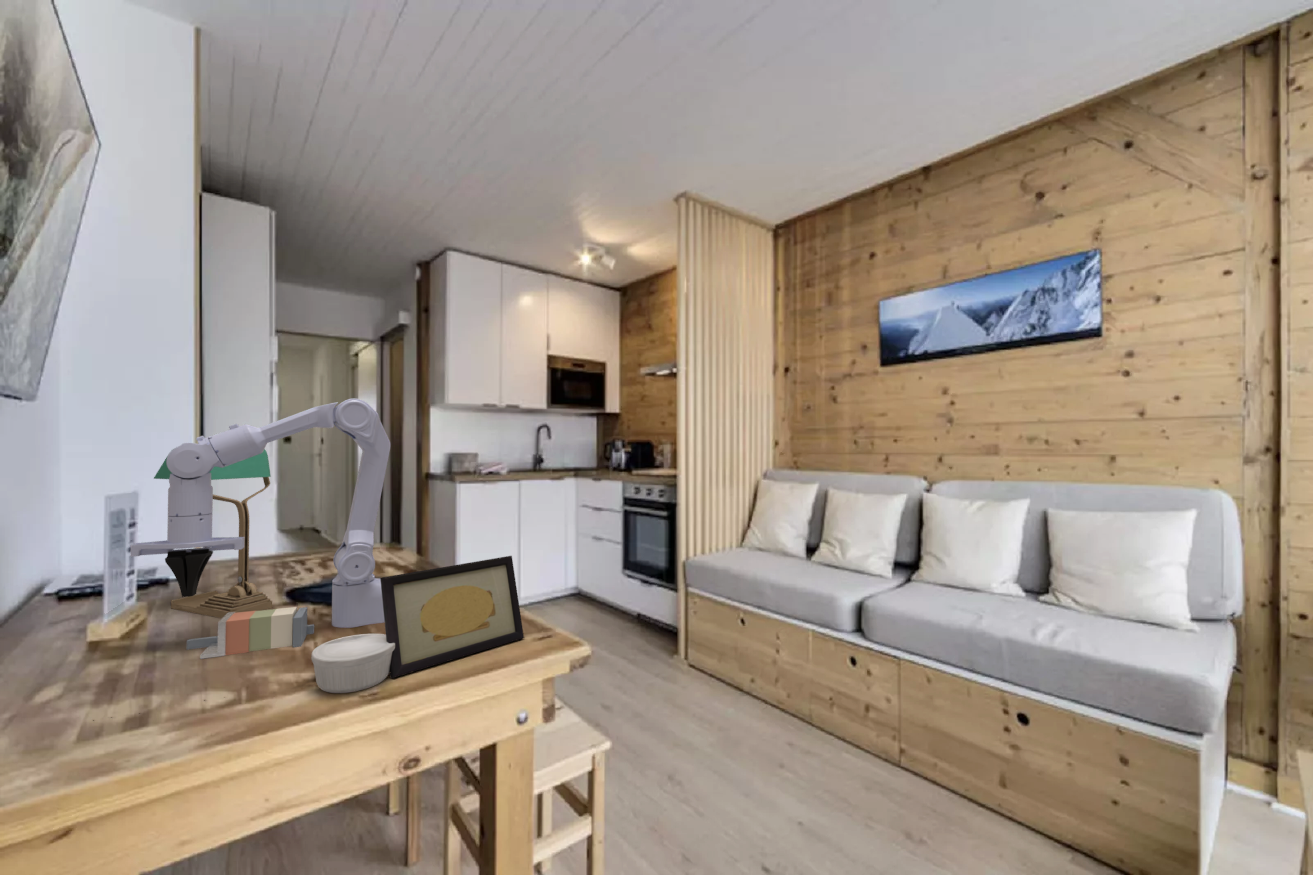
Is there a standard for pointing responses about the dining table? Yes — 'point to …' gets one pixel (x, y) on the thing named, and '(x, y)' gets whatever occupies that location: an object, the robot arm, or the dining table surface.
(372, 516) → the robot arm
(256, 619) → the olive block
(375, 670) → the ramekin
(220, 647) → the bookend
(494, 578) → the picture frame
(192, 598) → the banker's lamp
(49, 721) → the dining table surface
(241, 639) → the rust book
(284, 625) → the cream book
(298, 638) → the shelf
